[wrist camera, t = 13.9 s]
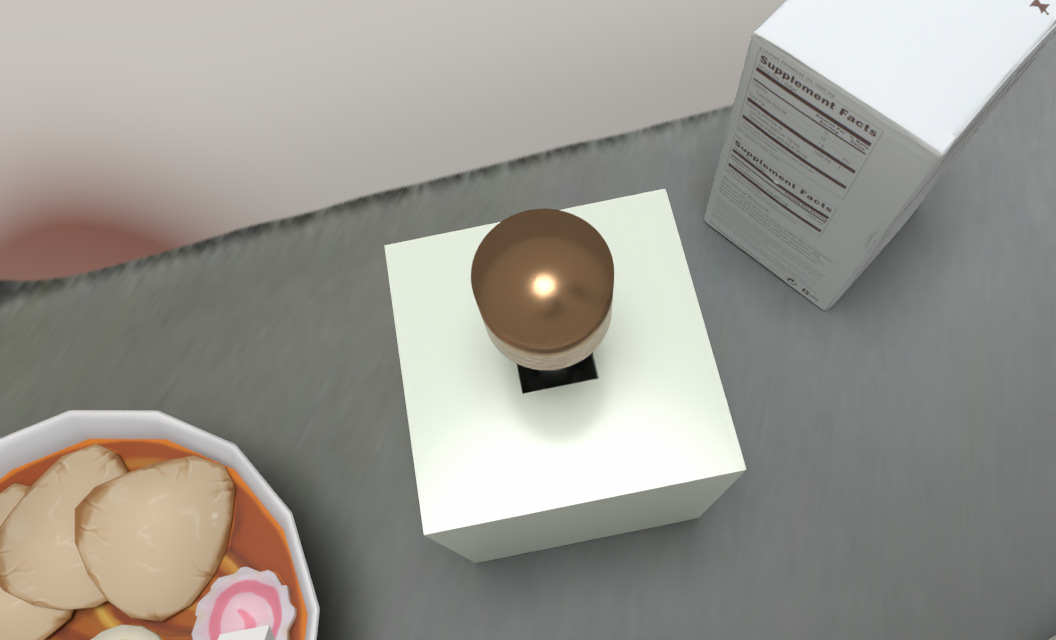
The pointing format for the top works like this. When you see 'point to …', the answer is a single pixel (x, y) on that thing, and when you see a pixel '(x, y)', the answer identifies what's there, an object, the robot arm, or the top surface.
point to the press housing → (562, 400)
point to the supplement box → (859, 124)
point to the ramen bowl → (143, 535)
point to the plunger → (545, 295)
